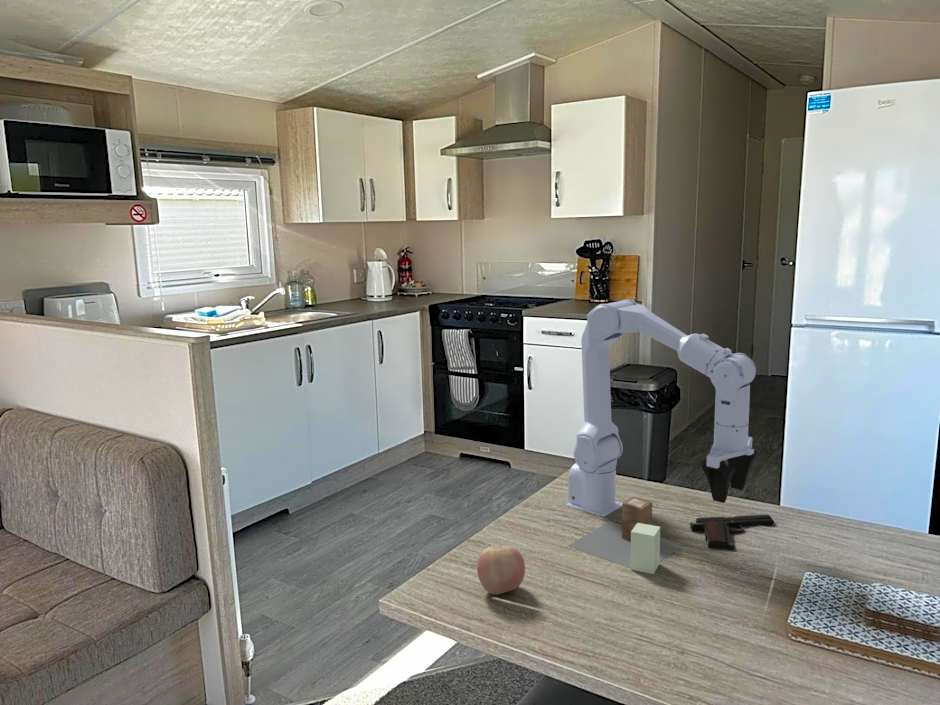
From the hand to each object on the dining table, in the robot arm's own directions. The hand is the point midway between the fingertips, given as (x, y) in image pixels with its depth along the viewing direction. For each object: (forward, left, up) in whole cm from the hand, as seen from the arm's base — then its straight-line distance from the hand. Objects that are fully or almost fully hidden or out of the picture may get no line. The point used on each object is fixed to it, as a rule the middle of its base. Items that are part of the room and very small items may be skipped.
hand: (728, 494), depth 131 cm
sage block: (-7, -17, -10) cm, 21 cm away
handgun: (0, +6, -11) cm, 12 cm away
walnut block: (-14, -8, -10) cm, 19 cm away
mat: (-14, -12, -10) cm, 21 cm away
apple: (-21, -39, -10) cm, 45 cm away
